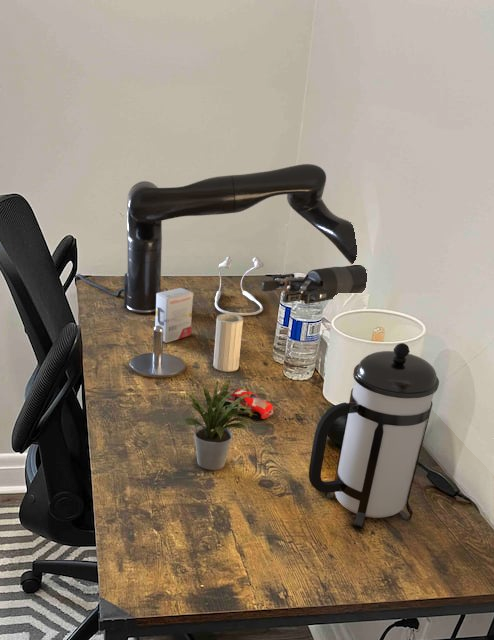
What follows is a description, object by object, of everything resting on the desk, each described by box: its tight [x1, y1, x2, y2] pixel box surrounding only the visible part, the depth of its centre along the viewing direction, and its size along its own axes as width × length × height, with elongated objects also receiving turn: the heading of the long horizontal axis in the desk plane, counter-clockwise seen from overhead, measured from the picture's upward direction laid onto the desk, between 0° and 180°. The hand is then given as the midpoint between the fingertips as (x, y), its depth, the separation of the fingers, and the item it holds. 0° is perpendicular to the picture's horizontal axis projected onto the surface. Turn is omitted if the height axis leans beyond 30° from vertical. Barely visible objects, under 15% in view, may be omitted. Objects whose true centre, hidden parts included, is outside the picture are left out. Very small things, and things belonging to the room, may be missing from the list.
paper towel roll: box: [212, 313, 244, 372], centre depth 172 cm, size 6×6×12 cm
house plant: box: [176, 378, 256, 471], centre depth 132 cm, size 14×14×16 cm
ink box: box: [154, 287, 194, 344], centre depth 186 cm, size 9×5×12 cm, turn 129°
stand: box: [129, 326, 186, 379], centre depth 171 cm, size 13×13×10 cm
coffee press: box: [308, 342, 440, 530], centre depth 118 cm, size 17×16×30 cm
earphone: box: [214, 256, 265, 317], centre depth 210 cm, size 14×17×18 cm
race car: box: [217, 387, 274, 421], centre depth 155 cm, size 13×5×4 cm, turn 57°
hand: (272, 292), depth 171 cm, fingers open, 8 cm apart
